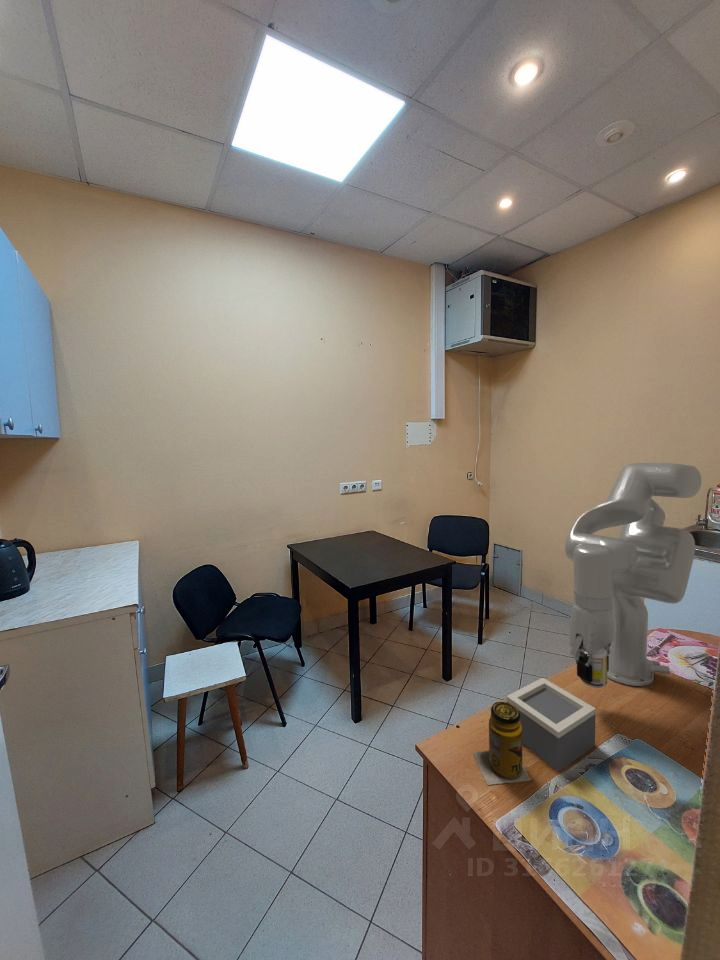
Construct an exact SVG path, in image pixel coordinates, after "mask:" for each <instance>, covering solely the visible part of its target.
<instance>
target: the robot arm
mask: <svg viewBox="0 0 720 960" xmlns="http://www.w3.org/2000/svg"><path fill="white" fill-rule="evenodd" d="M701 486H702V476H701V472H700V470H699V469H698V468H697V467H696V466H694V465H690V464H689V465H688V464H684V463H683V464H682V463H675V462H674V463H672V462H671V463H670V462H669V463H668V462H667V463H666V462H663V463H662V462H659V463H658V462H635V463H629V464H626V465H624V467H622V468H621V470H620V471H619V474H618V476H617V478H616V480H615V481H614V484H613V487H612V489H611V491H610V493H609V494H608V497H607V500H606V501H605V502H602V503H600V504H598V505H596V506H594V507H592V508H591V509H588V510H587V511H585V512H584V513H583V514H581V515H580V516H579V517H578V518H576V520H575V521H574V523H573V525H572V527H571V529H570V531H569V533H568V536H567V538H566V541H565V545H564V551H565V554H566V555H565V556H566V557H567V558H568V559H569V560H570V561H572V562H573V606H572V609H571V613H570V614H571V615H570V622H569V634H568V635H569V637H568V640H569V641H568V643H569V646H570V647H571V650H570V653H569V654H570V656H571V657H573V659H574V660H575V661H576V675H577V677H578V678H579V679H580V678H582V679H584V680H586V681H588V682H590V683H591V682H592V665H590V664H591V659H592V654H594V653H596V652H597V651H599V650H601V649H603V648H605V649H606V651H607V679H610V680H612V681H615V682H617V683H620V684H623V685H627V686H634V687H645V686H648V685H650V684H652V683H653V682H654V678H655V677H654V674H656V673H659V674H662V675H663V674H664V675H670V673H671V670H670V666H667V665H661V662H660V661H659V660H652V659H650V660H649V658H648V657H647V655H648V633H649V632H648V629H649V625H648V624H649V611H648V609H647V606H646V604H645V603H644V601H643V599H642V598H645V599H649V600H653V601H655V602H656V601H657V602H661V603H665V604H666V603H667V604H673V605H674V604H675V605H676V604H678V603H680V602H681V601H682V600H683V598H684V597H685V595H686V591H687V587H688V584H689V580H690V576H691V571H692V567H693V563H694V559H695V555H696V554H695V553H696V541H695V538H694V536H693V534H692V533H691V532H689V531H688V530H686V529H684V528H683V529H682V528H679V527H671V526H664V524H665V520H666V514H665V512H664V510H663V508H662V507H661V506H660V505H659V504H658V503H657V502H656V501H655V500H654V499H652V497H661V498H662V497H665V498H680V499H689V498H693V497H694V496H696V495H697V494H698V493H699V491H700V489H701ZM620 526H621V531H620V533H619V535H618V538H617V537H610V536H606V535H599V534H594V533H596V532H598V531H601V530H604V529H608V528H609V529H610V528H614V527H620ZM583 646H584V648H585V649H584V648H582V647H583ZM582 652H583V653H585V654H587V656H586V659H585V658H584V657H583V656H581V655H582Z"/></svg>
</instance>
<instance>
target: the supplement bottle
mask: <svg viewBox="0 0 720 960" xmlns="http://www.w3.org/2000/svg"><path fill="white" fill-rule="evenodd" d="M582 648H584V646H583V647H582ZM584 649H585V648H584ZM581 656H583V657H584V658H585V659H586V656H587V654H585V653H583V652H582V655H581ZM590 665H592V682H591V683H590V682H588V681H586V680H584V679H582V678H580V677H579V680H580V681H581V682H582V683H583V684H584V685H586V686H588V687H591V688H595V689H601V688H602V689H603V688H604V687H606V686H607V685H608V677H607V651H606V649H605V648H603V649H601V650H599V651H597V652H596V653H594V654H592V659H591V664H590Z"/></svg>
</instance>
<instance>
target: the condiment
mask: <svg viewBox="0 0 720 960" xmlns="http://www.w3.org/2000/svg"><path fill="white" fill-rule="evenodd" d="M488 749H489V750H484V751H473V752H472V753H473V756H474V758H475V760H476V763H477V765H478V767H479V770H480V773H481V774H482V776H483V778H484V781H485V783H486V785H487V786H490V785H497V784H499V785H500V784H506V783H507V784H510V783H511V784H512V783H521V782H529V781H531V780H532V778H531V776H530V775H529V774H528V772H527V770H526V769H525V767H524V765H523V744H522V726H521V723H520V713H519V711H518V709H517V708H516V707H515V706H513V705H512V704H509V703H507V701H497V702H494V703H493V704H492V706H491V707H490V717H489V718H488Z"/></svg>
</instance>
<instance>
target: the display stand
mask: <svg viewBox="0 0 720 960" xmlns="http://www.w3.org/2000/svg"><path fill="white" fill-rule="evenodd" d="M506 703H509V704H512V705H513V706H515V707H516V708H517V709H518V711H519V713H520V723H521V726H522V745H524V746H525V747H526V748H527V749H529V750H530V751H531V752H533V753H534V754H535V755H536V756H537V757H539V758H540V760H542V761H544V762H545V763H546V764H547V765H548V766H550V767H551V768H553V769H554V770H555V771H556V772H557V773H559V772H560V771H563V769H565V768H566V767H567V766H569V765H570V764H572V763H573V762H575V760H577V759H579V757H580V758H581V756H583V755H584V754H586V752H588V751H589V750H591V749H592V748H593V747H595V746H596V711H597V708H595V707H594V706H592V705H590V704H589V703H587V702H585V701H583V700H582V699H580V698H579V697H576V696H575V695H574V694H571V693H570V692H569V691H566V690H565V689H563V688H561V687H560V686H558V685H556V684H554V683H553V682H551V681H549V680H548V679H546V678H544V677H541V678H539V679H537V680H535V681H533V682H531V683H529V684H527V685H526V686H524V687H522V688H519V689H518V690H515V691H514V692H512V693H510V694H508V695H506Z"/></svg>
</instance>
